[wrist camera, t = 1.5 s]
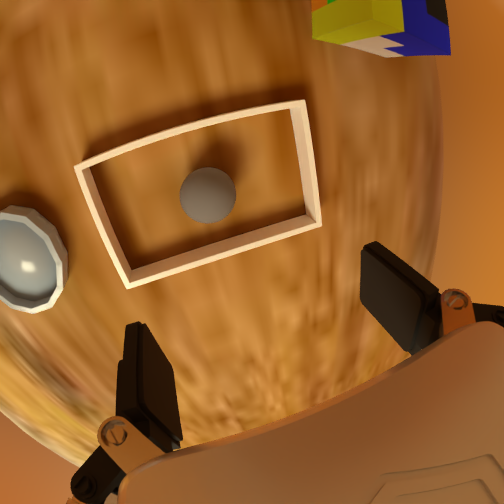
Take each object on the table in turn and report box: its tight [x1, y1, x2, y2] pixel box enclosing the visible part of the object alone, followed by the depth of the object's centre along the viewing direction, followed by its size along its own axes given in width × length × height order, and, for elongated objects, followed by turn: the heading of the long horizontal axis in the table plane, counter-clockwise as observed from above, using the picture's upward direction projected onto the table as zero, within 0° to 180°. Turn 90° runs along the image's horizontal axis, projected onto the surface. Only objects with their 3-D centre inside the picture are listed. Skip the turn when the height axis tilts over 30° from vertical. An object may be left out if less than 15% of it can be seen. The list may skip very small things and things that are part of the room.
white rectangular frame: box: [74, 100, 322, 289], centre depth 26 cm, size 13×21×2 cm, turn 102°
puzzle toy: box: [311, 0, 451, 57], centre depth 17 cm, size 10×10×10 cm
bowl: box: [0, 205, 68, 314], centre depth 23 cm, size 12×12×2 cm
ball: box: [180, 167, 236, 223], centre depth 25 cm, size 5×5×5 cm
